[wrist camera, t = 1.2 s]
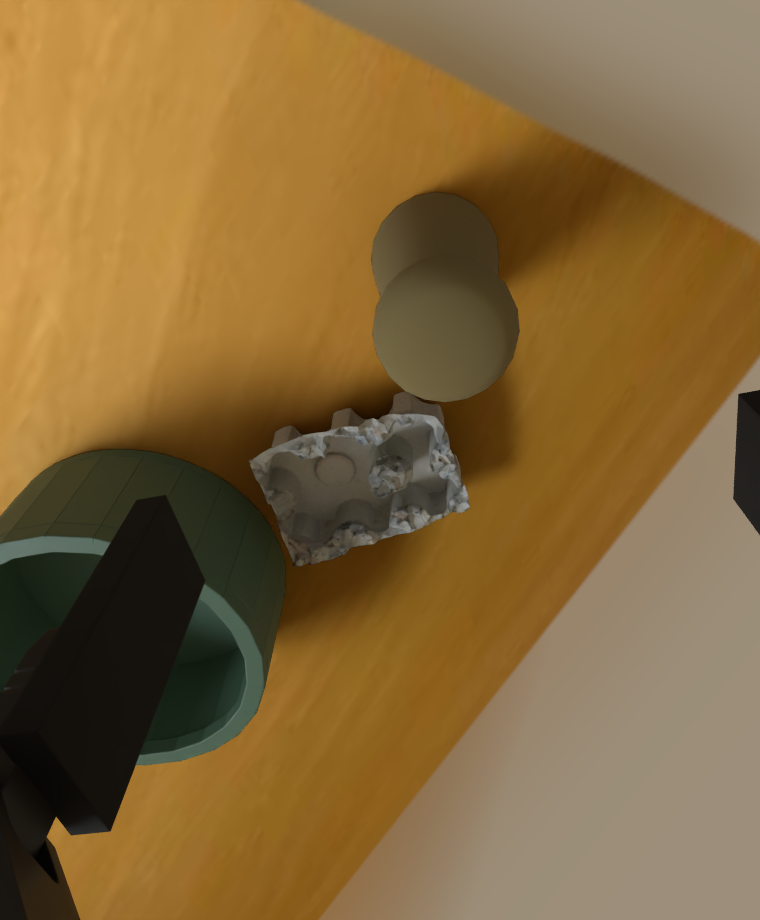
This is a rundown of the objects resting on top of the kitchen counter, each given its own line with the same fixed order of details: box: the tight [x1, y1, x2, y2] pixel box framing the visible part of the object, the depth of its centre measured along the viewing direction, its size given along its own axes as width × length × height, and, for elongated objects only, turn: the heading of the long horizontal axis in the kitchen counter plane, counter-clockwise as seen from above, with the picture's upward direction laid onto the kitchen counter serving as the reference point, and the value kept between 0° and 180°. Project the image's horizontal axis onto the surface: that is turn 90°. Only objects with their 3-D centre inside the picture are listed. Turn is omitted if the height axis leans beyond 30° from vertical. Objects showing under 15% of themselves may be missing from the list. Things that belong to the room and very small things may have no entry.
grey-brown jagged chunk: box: [249, 391, 470, 567], centre depth 36 cm, size 11×8×4 cm
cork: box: [371, 192, 520, 402], centre depth 28 cm, size 6×6×11 cm
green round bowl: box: [0, 449, 286, 765], centre depth 39 cm, size 17×17×8 cm
